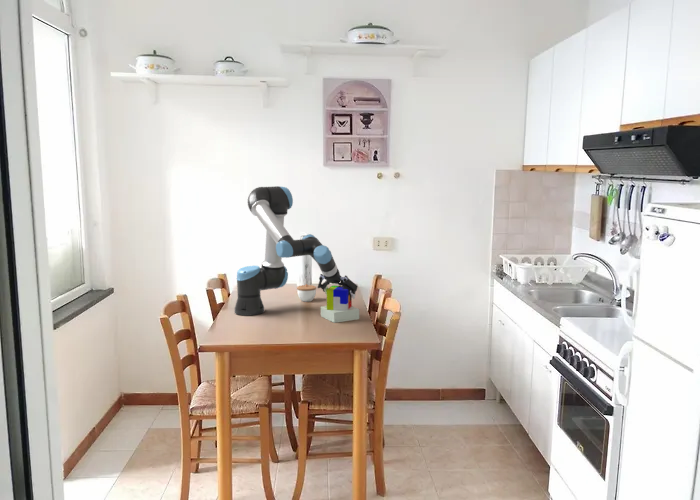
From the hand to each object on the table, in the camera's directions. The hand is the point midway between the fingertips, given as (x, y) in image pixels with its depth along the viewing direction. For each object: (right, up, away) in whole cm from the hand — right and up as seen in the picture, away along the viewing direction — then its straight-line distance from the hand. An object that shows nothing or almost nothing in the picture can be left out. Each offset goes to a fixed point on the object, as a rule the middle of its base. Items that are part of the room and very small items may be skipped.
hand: (341, 295), depth 274 cm
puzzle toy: (-1, -6, -1) cm, 6 cm away
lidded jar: (-20, -6, +36) cm, 42 cm away
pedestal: (-1, -11, -1) cm, 11 cm away
